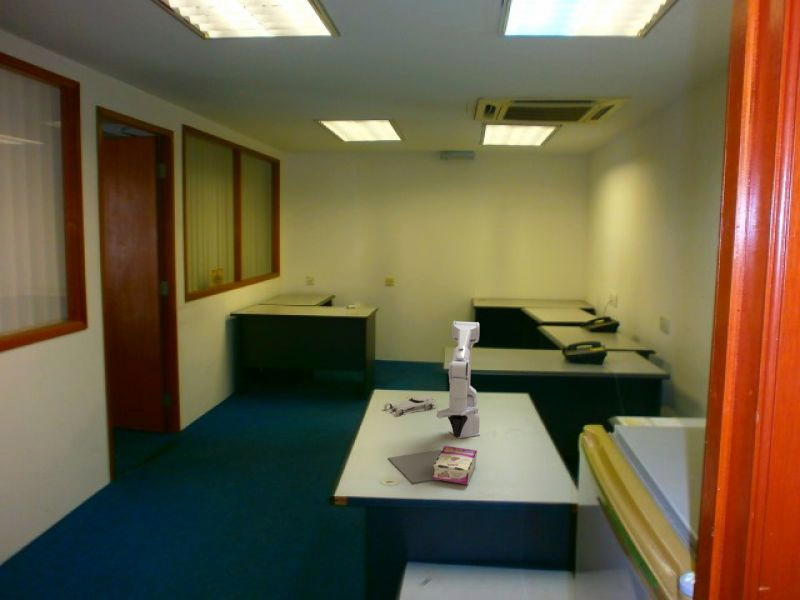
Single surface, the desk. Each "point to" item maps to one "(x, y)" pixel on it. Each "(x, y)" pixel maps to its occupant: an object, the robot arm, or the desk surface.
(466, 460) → the candy bar box
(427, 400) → the car model
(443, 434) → the desk surface
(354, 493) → the desk surface
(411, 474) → the mat
